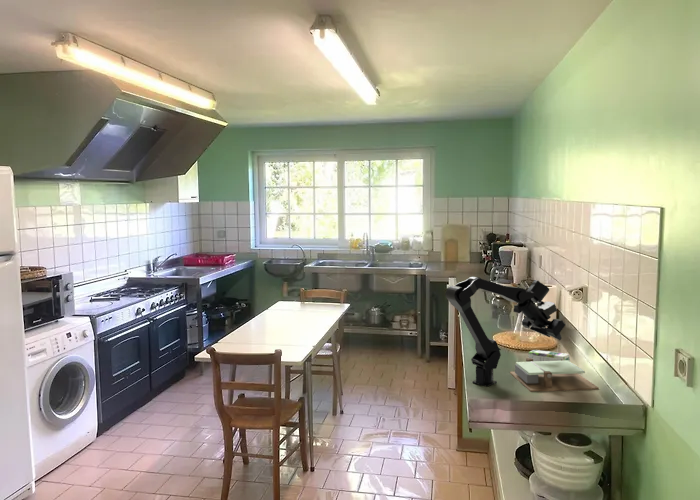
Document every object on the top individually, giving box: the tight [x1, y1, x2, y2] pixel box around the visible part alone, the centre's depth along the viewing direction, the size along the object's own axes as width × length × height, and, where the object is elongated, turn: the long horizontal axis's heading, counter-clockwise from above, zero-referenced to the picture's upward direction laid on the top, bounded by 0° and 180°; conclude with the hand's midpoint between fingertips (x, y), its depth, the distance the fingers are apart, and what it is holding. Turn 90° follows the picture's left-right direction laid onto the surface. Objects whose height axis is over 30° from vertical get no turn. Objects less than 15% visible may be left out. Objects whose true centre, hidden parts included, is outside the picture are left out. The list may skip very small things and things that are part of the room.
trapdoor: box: [514, 360, 586, 384], centre depth 198 cm, size 20×14×4 cm
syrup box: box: [528, 349, 571, 362], centre depth 215 cm, size 6×6×14 cm
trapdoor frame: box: [509, 357, 600, 393], centre depth 198 cm, size 24×22×6 cm
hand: (555, 337), depth 208 cm, fingers open, 5 cm apart
